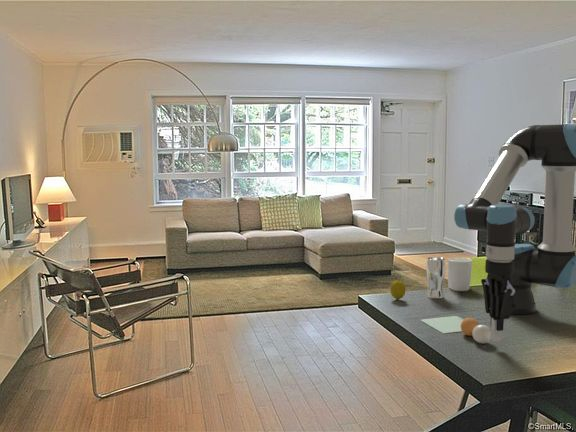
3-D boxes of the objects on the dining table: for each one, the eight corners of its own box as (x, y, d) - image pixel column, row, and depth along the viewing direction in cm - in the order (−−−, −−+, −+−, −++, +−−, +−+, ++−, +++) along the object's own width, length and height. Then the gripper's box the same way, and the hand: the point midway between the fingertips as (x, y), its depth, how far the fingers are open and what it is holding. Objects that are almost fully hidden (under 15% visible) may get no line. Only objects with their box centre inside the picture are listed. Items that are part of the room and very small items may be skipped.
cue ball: (499, 335, 162) (490, 344, 166) (488, 319, 165) (480, 328, 169) (484, 339, 160) (475, 348, 164) (473, 323, 163) (465, 332, 167)
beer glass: (434, 300, 211) (435, 261, 209) (421, 295, 217) (423, 257, 215) (448, 297, 214) (449, 259, 212) (435, 293, 220) (436, 256, 218)
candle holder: (442, 285, 232) (443, 257, 230) (465, 285, 233) (466, 256, 231) (451, 291, 222) (452, 262, 221) (475, 291, 223) (476, 261, 221)
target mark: (456, 316, 191) (456, 315, 191) (481, 329, 177) (481, 328, 177) (419, 320, 187) (419, 319, 187) (443, 333, 173) (443, 333, 173)
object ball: (474, 336, 174) (470, 318, 176) (485, 333, 169) (480, 315, 171) (459, 337, 172) (455, 320, 174) (469, 335, 167) (465, 317, 169)
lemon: (405, 302, 207) (405, 281, 206) (390, 301, 208) (390, 280, 207) (405, 298, 213) (405, 278, 212) (390, 297, 214) (390, 277, 213)
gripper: (474, 256, 162) (471, 334, 165) (503, 265, 150) (500, 349, 153) (496, 254, 164) (492, 331, 167) (527, 263, 152) (522, 346, 155)
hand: (496, 340), depth 160 cm, fingers closed
